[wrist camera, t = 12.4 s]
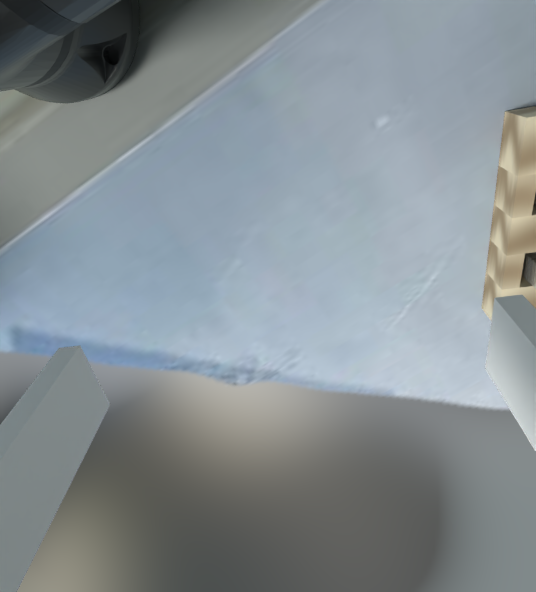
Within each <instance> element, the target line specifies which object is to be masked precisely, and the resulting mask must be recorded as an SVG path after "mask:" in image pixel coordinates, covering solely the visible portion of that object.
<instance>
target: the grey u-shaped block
mask: <svg viewBox="0 0 536 592" xmlns="http://www.w3.org/2000/svg"><path fill="white" fill-rule="evenodd" d="M534 204H536V193H535V199H534ZM522 276H523V277H524V278H525V279H526V280H527V281H528V282H529V283H530V284H531V285H532V286H533V287H534V288H535V289H536V252H532V253H525V258H524V264H523V269H522Z"/></svg>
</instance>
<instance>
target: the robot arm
mask: <svg viewBox="0 0 536 592" xmlns="http://www.w3.org/2000/svg"><path fill="white" fill-rule="evenodd" d="M139 27H140V15H139V4H138V0H0V91H6V90H12V89H14V90H17V91H19V92H21V93H24V94H26V95H29V96H31V97H33V98H36V99H39V100H43V101H48V102H54V103H74V102H80V101H84V100H88V99H92V98H95V97H97V96H100V95H102V94H104V93H105V92H107V91H108V90H110V89H111V88H112V87H114V86H115V85H116V84H117V83H118V82H119V81H120V80H121V78H122V77H123V76H124V74H125V73H126V71H127V70H128V68H129V66H130V64H131V62H132V60H133V57H134V54H135V51H136V48H137V43H138V37H139ZM485 369H486V371H487V373H488V374H489V376H490V378H491V379H492V381H493V382H494V384H495V386H496V387H497V389H498V391H499V392H500V394H501V396H502V397H503V399H504V400H505V402H506V404H507V405H508V407H509V409H510V410H511V412H512V414H513V415H514V417H515V418H516V420H517V422H518V423H519V425H520V427H521V428H522V430H523V432H524V433H525V435H526V436H527V438H528V440H529V441H530V443H531V445H532V446H533V448H534V450H535V451H536V309H535V307H534V306H533V305H532V304H531V303H530V302H529V301H528V300H527V299H526V298H525V297H524V296H523V295H513V296H505V297H496V298H494V305H493V313H492V320H491V327H490V335H489V342H488V350H487V357H486V364H485ZM109 405H110V403H109V401H108V399H107V397H106V395H105V393H104V391H103V389H102V387H101V385H100V384H99V382H98V379H97V378H96V376H95V374H94V372H93V370H92V368H91V366H90V364H89V362H88V360H87V358H86V356H85V354H84V352H83V350H82V348H81V347H80V346H73V347H64V348H59V349H58V350H57V351H56V353H55V354H54V355H53V356H52V358H51V359H50V360H49V362H48V363H47V364H46V366H45V367H44V368H43V370H42V371H41V372H40V374H39V375H38V376H37V378H36V379H35V380H34V381H33V383H32V384H31V385H30V387H29V388H28V389H27V391H26V392H25V393H24V395H23V396H22V397H21V398H20V400H19V401H18V403H17V404H16V405H15V406H14V408H13V409H12V410H11V412H10V413H9V414H8V416H7V417H6V418H5V420H4V421H3V422H2V423H1V425H0V592H17V590H18V588H19V586H20V584H21V582H22V580H23V578H24V576H25V574H26V572H27V570H28V568H29V566H30V564H31V562H32V560H33V558H34V556H35V554H36V552H37V550H38V548H39V546H40V544H41V542H42V540H43V538H44V536H45V534H46V532H47V530H48V528H49V526H50V524H51V522H52V520H53V518H54V516H55V514H56V512H57V510H58V508H59V506H60V504H61V502H62V500H63V498H64V496H65V494H66V492H67V490H68V488H69V486H70V484H71V482H72V480H73V478H74V476H75V474H76V472H77V470H78V468H79V466H80V464H81V462H82V460H83V458H84V456H85V454H86V452H87V450H88V448H89V446H90V444H91V442H92V440H93V438H94V436H95V434H96V432H97V430H98V428H99V426H100V424H101V422H102V420H103V418H104V416H105V414H106V412H107V410H108V408H109Z"/></svg>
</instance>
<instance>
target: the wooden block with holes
mask: <svg viewBox="0 0 536 592" xmlns="http://www.w3.org/2000/svg"><path fill="white" fill-rule="evenodd" d="M535 193H536V106H534V107H528V108H522V109H516V110H510V111H505V116H504V125H503V133H502V142H501V150H500V159H499V167H498V175H497V184H496V192H495V201H494V209H493V218H492V226H491V235H490V243H489V252H488V260H487V269H486V277H485V286H484V294H483V302H482V309H483V311H484V312H485V313H486V315H487V316H488V317H489V319H490V320H492V313H493V305H494V298H496V297H505V296H513V295H523V296H524V297H525V298H526V299H527V300H528V301H529V302H530V303H531V304H532V305H533V306H534V307H535V309H536V289H535V288H534V287H533V286H532V285H531V284H530V283H529V282H528V281H527V280H526V279H525V278H524V277H523V276H522V269H523V264H524V258H525V253H532V252H536V204H534V199H535Z"/></svg>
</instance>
